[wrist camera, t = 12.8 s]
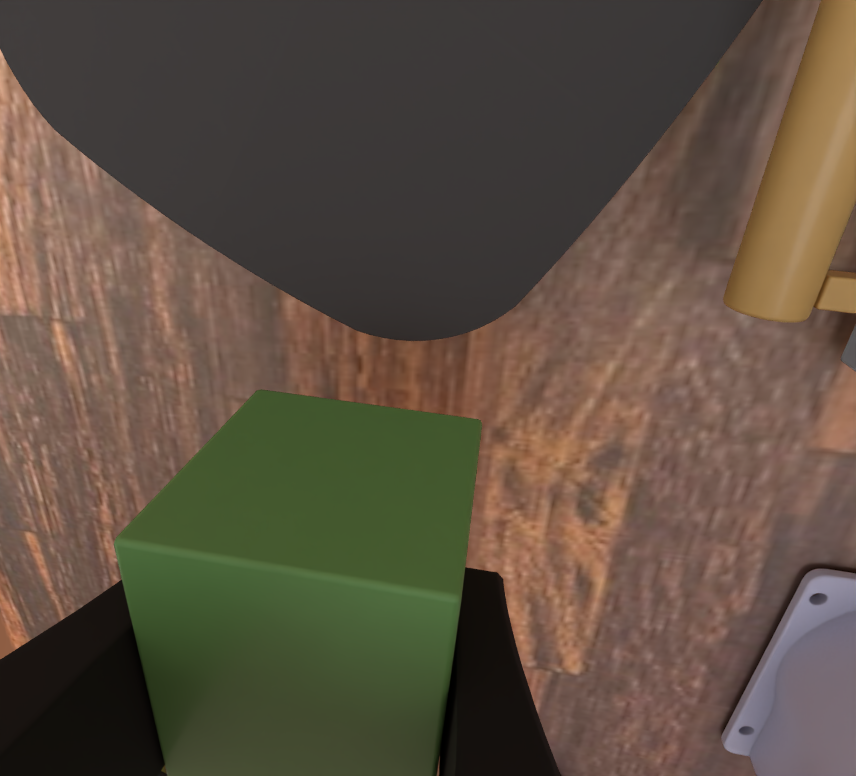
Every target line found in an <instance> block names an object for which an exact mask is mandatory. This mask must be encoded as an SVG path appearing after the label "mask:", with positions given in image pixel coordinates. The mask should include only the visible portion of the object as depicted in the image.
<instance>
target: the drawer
mask: <svg viewBox="0 0 856 776" xmlns="http://www.w3.org/2000/svg"><path fill="white" fill-rule="evenodd" d="M855 203H856V0H821V2H820V5H819V8H818V11H817V14H816V17H815V20H814V23H813V26H812V30H811V33H810V36H809V39H808V42H807V45H806V48H805V51H804V54H803V57H802V60H801V63H800V66H799V69H798V72H797V75H796V78H795V81H794V84H793V87H792V90H791V93H790V96H789V99H788V102H787V105H786V108H785V111H784V114H783V118H782V121H781V124H780V127H779V130H778V133H777V136H776V139H775V142H774V145H773V148H772V151H771V154H770V157H769V160H768V163H767V166H766V169H765V172H764V175H763V178H762V181H761V184H760V187H759V190H758V193H757V196H756V199H755V202H754V206H753V209H752V212H751V215H750V218H749V221H748V224H747V227H746V230H745V233H744V236H743V239H742V242H741V245H740V248H739V251H738V254H737V257H736V260H735V263H734V266H733V269H732V272H731V275H730V278H729V281H728V284H727V287H726V290H725V294H724V297H723V301H724V304H725V305H726V306H728V307H730V308H731V309H733V310H735V311H737V312H740V313H742V314H745V315H748V316H752V317H755V318H760V319H764V320H770V321H776V322H802V321H805V320H806V319H807V318H808V317H809V316H810V314H811V311H812V309H813V307H815V308H817V309H819V310H828V311H836V312H845V313H854V314H856V273H853V272H843V271H834V270H828V269H829V267H830V265H831V262H832V260H833V257H834V255H835V252H836V250H837V247H838V245H839V242H840V240H841V238H842V235H843V233H844V230H845V228H846V225H847V223H848V220H849V218H850V215H851V213H852V211H853V208H854V206H855ZM841 361H842V362H844V363H845V364H846V365H848V366H849V367H850V368H852V369H853V370H854V371H856V325H855V327H854V329H853V332H852V334H851V336H850V338H849V340H848V343H847V345H846V347H845V349H844V351H843V354H842V356H841Z"/></svg>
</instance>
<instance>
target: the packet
mask: <svg viewBox="0 0 856 776" xmlns="http://www.w3.org/2000/svg"><path fill="white" fill-rule="evenodd" d="M481 430H482V422H481V420H479V419H473V418H466V417H459V416H451V415H444V414H437V413H429V412H422V411H415V410H407V409H400V408H393V407H385V406H378V405H371V404H363V403H356V402H349V401H341V400H334V399H327V398H319V397H312V396H305V395H297V394H290V393H283V392H275V391H268V390H257V391H256V392H255V393H254V394H253V395H252V396H251V397H250V398H249V399H248V400H247V401H246V402H245V403H244V405H243V406H242V407H241V408H240V409H239V410H238V411H237V412H236V413H235V414H234V415H233V416H232V417H231V418H230V419H229V420H228V421H227V422H226V423H225V424H224V425H223V426H222V427H221V429H220V430H219V431H218V432H217V433H216V434H215V435H214V436H213V437H212V438H211V439H210V440H209V441H208V442H207V443H206V444H205V445H204V446H203V447H202V448H201V449H200V450H199V451H198V453H197V454H196V455H195V456H194V457H193V458H192V459H191V460H190V461H189V462H188V463H187V464H186V465H185V466H184V467H183V468H182V469H181V470H180V471H179V472H178V473H177V474H176V476H175V477H174V478H173V479H172V480H171V481H170V482H169V483H168V484H167V485H166V486H165V487H164V488H163V489H162V490H161V491H160V492H159V493H158V494H157V495H156V496H155V497H154V498H153V500H152V501H151V502H150V503H149V504H148V505H147V506H146V507H145V508H144V509H143V510H142V511H141V512H140V513H139V514H138V515H137V516H136V517H135V518H134V519H133V520H132V521H131V522H130V524H129V525H128V526H127V527H126V528H125V529H124V530H123V531H122V532H121V533H120V534H119V535H118V536H117V537H116V539H115V542H114V547H115V552H116V556H117V560H118V565H119V569H120V573H121V578H122V582H123V586H124V591H125V595H126V599H127V604H128V608H129V612H130V617H131V621H132V625H133V629H134V634H135V638H136V642H137V647H138V651H139V655H140V660H141V664H142V668H143V673H144V677H145V681H146V686H147V690H148V694H149V699H150V703H151V707H152V712H153V716H154V720H155V724H156V729H157V733H158V737H159V742H160V746H161V750H162V755H163V759H164V763H165V768H166V772H167V776H437V771H438V764H439V757H440V750H441V743H442V735H443V728H444V721H445V714H446V707H447V700H448V692H449V685H450V678H451V671H452V664H453V656H454V649H455V642H456V635H457V628H458V620H459V613H460V606H461V599H462V590H463V582H464V574H465V565H466V557H467V548H468V540H469V531H470V523H471V515H472V506H473V498H474V489H475V481H476V473H477V464H478V456H479V447H480V439H481Z"/></svg>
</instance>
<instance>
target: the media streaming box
mask: <svg viewBox="0 0 856 776" xmlns="http://www.w3.org/2000/svg"><path fill="white" fill-rule="evenodd" d="M762 1H763V0H0V49H1V51H2V53H3V55H4V57H5V59H6V61H7V63H8V65H9V67H10V68H11V70H12V72H13V74H14V75H15V77H16V79H17V80H18V82H19V84H20V85H21V87H22V89H23V90H24V91H25V93H26V94H27V96H28V97H29V99H30V100H31V102H32V103H33V104H34V106H35V107H36V108H37V109H38V111H39V112H40V113H41V115H42V116H43V117H44V118H45V119H46V121H47V122H48V123H49V124H50V125H51V126H52V127H53V128H54V130H56V131H57V132H58V133H59V134H60V135H62V136H63V137H64V138H65V139H66V140H68V141H69V142H70V143H71V144H72V145H73V146H75V147H76V148H77V149H78V150H80V151H81V152H82V153H83V154H85V155H86V156H87V157H88V158H89V159H91V160H92V161H93V162H94V163H96V164H97V165H98V166H99V167H101V168H102V169H103V170H105V171H106V172H107V173H108V174H110V175H111V176H112V177H114V178H115V179H116V180H117V181H119V182H120V183H121V184H123V185H124V186H125V187H127V188H128V189H129V190H131V191H132V192H133V193H135V194H136V195H137V196H139V197H140V198H141V199H143V200H144V201H146V202H147V203H148V204H150V205H151V206H153V207H154V208H155V209H157V210H158V211H159V212H161V213H162V214H164V215H165V216H166V217H168V218H169V219H171V220H172V221H174V222H175V223H177V224H178V225H179V226H181V227H182V228H184V229H185V230H187V231H188V232H190V233H191V234H193V235H194V236H196V237H197V238H199V239H200V240H202V241H203V242H205V243H206V244H208V245H209V246H211V247H212V248H214V249H215V250H217V251H219V252H220V253H222V254H223V255H225V256H226V257H228V258H229V259H231V260H233V261H234V262H236V263H237V264H239V265H241V266H242V267H244V268H245V269H247V270H249V271H250V272H252V273H254V274H255V275H257V276H259V277H260V278H262V279H264V280H265V281H267V282H269V283H270V284H272V285H274V286H275V287H277V288H279V289H281V290H282V291H284V292H286V293H288V294H289V295H291V296H293V297H295V298H296V299H298V300H300V301H302V302H304V303H305V304H307V305H309V306H311V307H313V308H315V309H316V310H318V311H320V312H322V313H324V314H326V315H327V316H329V317H331V318H333V319H335V320H337V321H339V322H341V323H343V324H345V325H347V326H349V327H351V328H353V329H355V330H357V331H360V332H363V333H366V334H369V335H373V336H378V337H382V338H388V339H394V340H406V341H426V340H436V339H443V338H448V337H453V336H457V335H460V334H464V333H467V332H470V331H473V330H475V329H478V328H480V327H482V326H484V325H486V324H489V323H491V322H492V321H494V320H496V319H498V318H499V317H501V316H503V315H504V314H506V313H507V312H508V311H510V310H511V309H512V308H514V307H515V306H516V305H517V304H518V303H519V302H520V301H521V300H522V299H523V298H524V297H525V296H526V295H527V293H528V292H529V291H530V290H531V289H532V288H533V287H534V286H535V285H536V284H537V283H538V282H539V281H540V280H541V278H542V277H543V276H544V275H545V274H546V273H547V272H548V271H549V270H550V269H551V268H552V266H553V265H554V264H555V263H556V262H557V261H558V260H559V259H560V258H561V256H562V255H563V254H564V253H565V252H566V251H567V250H568V249H569V247H570V246H571V245H572V244H573V243H574V242H575V241H576V239H577V238H578V237H579V236H580V235H581V234H582V233H583V231H584V230H585V229H586V228H587V227H588V226H589V224H590V223H591V222H592V221H593V220H594V219H595V217H596V216H597V215H598V214H599V213H600V211H601V210H602V209H603V208H604V207H605V206H606V204H607V203H608V202H609V201H610V200H611V198H612V197H613V196H614V195H615V194H616V192H617V191H618V190H619V189H620V188H621V186H622V185H623V184H624V183H625V181H626V180H627V179H628V178H629V177H630V175H631V174H632V173H633V172H634V170H635V169H636V168H637V167H638V165H639V164H640V163H641V162H642V161H643V159H644V158H645V157H646V156H647V154H648V153H649V152H650V151H651V149H652V148H653V147H654V146H655V144H656V143H657V142H658V140H659V139H660V138H661V137H662V135H663V134H664V133H665V131H666V130H667V129H668V128H669V126H670V125H671V124H672V122H673V121H674V120H675V119H676V117H677V116H678V115H679V113H680V112H681V111H682V110H683V108H684V107H685V106H686V104H687V103H688V102H689V100H690V99H691V98H692V96H693V95H694V94H695V92H696V91H697V90H698V88H699V87H700V86H701V84H702V83H703V82H704V80H705V79H706V78H707V76H708V75H709V74H710V72H711V71H712V70H713V69H714V67H715V66H716V64H717V63H718V62H719V60H720V59H721V58H722V56H723V55H724V53H725V52H726V51H727V49H728V48H729V47H730V45H731V44H732V43H733V41H734V40H735V38H736V37H737V36H738V34H739V33H740V32H741V30H742V29H743V27H744V26H745V25H746V23H747V22H748V20H749V19H750V18H751V16H752V15H753V13H754V12H755V11H756V9H757V8H758V6H759V5H760V3H761V2H762Z"/></svg>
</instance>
